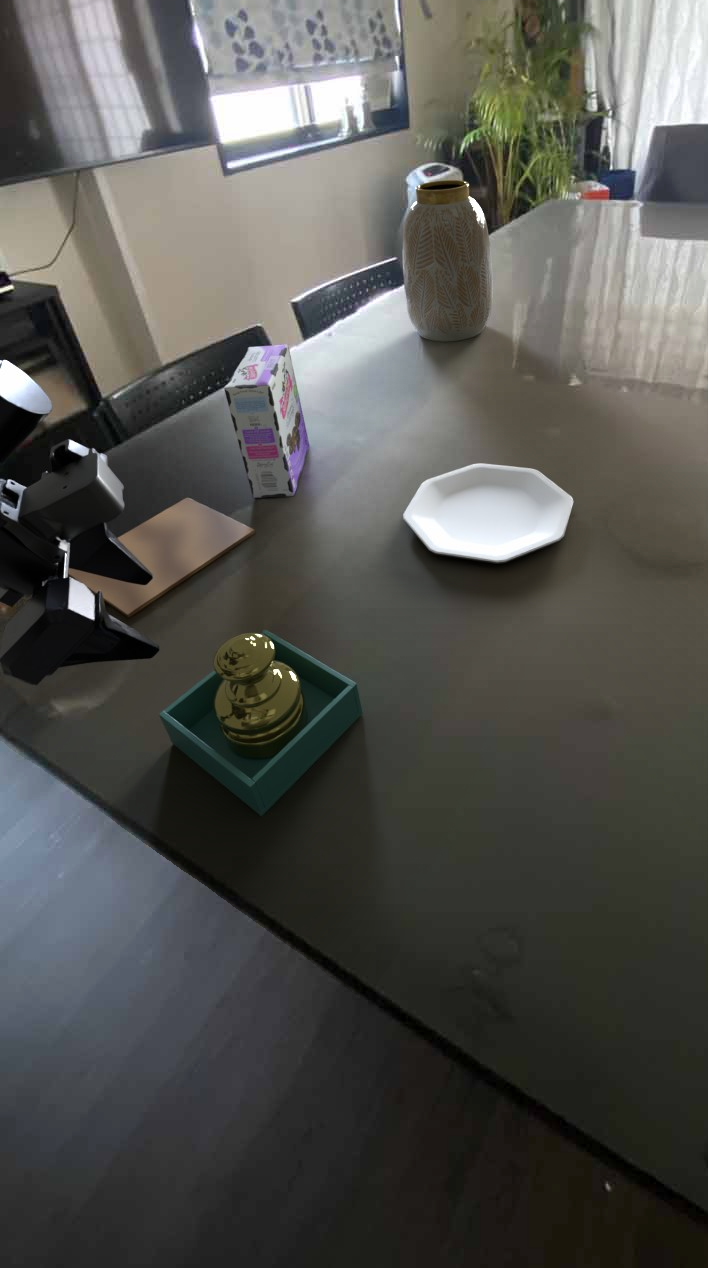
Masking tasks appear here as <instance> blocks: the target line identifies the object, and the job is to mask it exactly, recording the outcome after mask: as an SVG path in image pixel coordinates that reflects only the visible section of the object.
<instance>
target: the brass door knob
mask: <svg viewBox="0 0 708 1268" xmlns="http://www.w3.org/2000/svg"><path fill="white" fill-rule="evenodd" d="M260 633H261V632H260ZM260 633H259V632H245V633H241V634H238V635H236V636H233V637H231V638H229V639H228V640H226V641H224V643H222V644H221V645H220V647H218V649H217V651H216V652H215V654H214V657H213V663H212V664H213V670H215V671H216V673H217V674H218V676H220V677H221V678H222V679H224V680H223V681H222V682H221V683H220V685H219V686H218V688H217V690H216V693H215V696H214V700H213V709H214V713H215V716H216V718H217V720H218V721H219V724H220V729H221V731H222V733H223V734H224V736H225V739H226V741H227V743H228V745H229V747H230V748H231V749H232V750H233V751H234V752H235V753H237V754H239V755H241V756H243V757H247V758H266V757H270V756H273V755H276V754H278V753H279V752H280V751H281V750H282V749H283V748H284V747H285V746H286V745H287V744H288V743H289V742H290V741H292V740H293V739H294V738H295V737H296V736H297V735H298V734H299V733H300V732H301V731H302V730H303V729H304V728H305V726H306V722H307V709H306V705H305V700H304V695H303V692H302V690H301V685H300V680H299V678H298V675H297V674H296V672H295V671H294V670H293V669H292V668H291V667H290V666H288V665H287V664H285V663H282V662H280V661H276V660H274V657H275V647H274V644H273V642H272V641H271V639H270V638H268V637H267V636H265V635H263V634H260Z"/></svg>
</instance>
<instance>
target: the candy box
mask: <svg viewBox="0 0 708 1268" xmlns="http://www.w3.org/2000/svg"><path fill="white" fill-rule="evenodd" d="M224 394H225V398H226V402H227V403H228V404H227V405H228V409H229V412H230V417H231V420H232V424H233V428H234V432H235V436H236V439H237V443H238V447H239V450H240V454H241V457H242V461H243V465H244V469H245V474H246V477H247V481H248V484H249V488H250V492H251V495H252V498H253V499H255V498H279V497H280V498H281V497H293V496H294V495H295V493H296V490H297V488H298V484H299V482H300V478H301V474H302V471H303V468H304V464H305V462H306V459H307V455H308V452H309V449H310V442H309V437H308V432H307V428H306V422H305V418H304V417H305V416H304V413H303V408H302V404H301V398H300V395H299V394H300V393H299V389H298V384H297V379H296V375H295V371H294V366H293V360H292V355H291V351H290V346H289V344H288V343H286V344H274V345H259V346H249V347H247V351H246V353H245V354H244V356H243V358H242V360H241V361H240V362H239V364H238V365H237V367H236V368H235V370H234V372H233V374H232V376H231V377H230V378H229V381H228V382H227V384H226V385H225V386H224Z"/></svg>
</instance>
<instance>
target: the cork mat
mask: <svg viewBox="0 0 708 1268" xmlns="http://www.w3.org/2000/svg"><path fill="white" fill-rule="evenodd" d="M254 534H256V531H255V529H254V528H252V527H250V526H248V525H246V524H244V523H242V522H240V521H237V520H235V519H233V518H231V517H229V516H227V515H225V514H224V513H221V512H219V511H217V510H216V509H213V508H210V507H209V506H207V505H204V504H202V503H200V502H198V501H196V500H194V499H192V498H189V497H188V496H187V497H186V498H183V499H182V500H179V502H177V503H175V504H173V505H171V506H170V507H168V508H166V509H164V510H163V511H160V512H159V513H158V514H156V515H154V516H153V517H151V518H149V519H148V520H146V521H143V522H142V523H140V524H139V525H137V526H136V527H134V528H132V529H130V530H129V531H127V532H125V533H123V534H122V535H120V536H118V537H117V538H118V540H119V541H120V542H121V543H122V544H123V545H124V546H125V547H126V548H127V549H128V550H129V551H130V552H131V553H132V554H133V555H134V556H135V557H136V558H137V559H138V560H139V561H140V562H141V563H142V564H143V565H144V566H145V567H146V568H147V569H148V570H149V571H150V572H151V573H152V575H153V579H152V580H151V581H150V582H149V583H148V584H147V585H139V584H133V583H128V582H124V581H119V580H115V579H111V578H107V577H103V576H99V575H95V574H91V573H87V572H83V571H79V570H75V569H71V568H68V577H71V578H73V579H75V580H77V581H79V582H81V583H83V584H85V585H86V586H87V587H88V589H89V590H90V591H91V592H92V593H93V594H94V595H95V594H96V593H97V592H98V591H99V590H100V591H101V592H102V595H103V600H104V602H106V603H107V604H108V605H110V606H111V607H112V608H114V609H116V611H119V612H120V613H121V614H123V615H124V616H125V617H127V618H131V617H133V616H134V615H135V614H137V613H138V612H140V611H141V610H143V609H144V608H146V607H147V606H149V605H151V604H152V603H153V602H154V601H156V600H158V599H159V598H161V597H162V596H164V595H165V594H167V593H168V592H169V591H171V590H173V589H174V588H176V587H177V586H179V585H180V584H182V583H183V582H184V581H186V580H188V579H189V578H190V577H193V575H195V574H196V573H198V572H199V571H201V570H202V569H204V568H205V567H207V566H208V565H210V564H212V562H214V561H215V560H217V559H219V558H220V557H221V556H223V555H224V554H226V553H227V552H229V551H230V550H232V549H233V548H235V547H236V546H238V545H239V544H241V543H242V542H244V541H245V540H247V539H248V538H250V537H252V536H253V535H254Z"/></svg>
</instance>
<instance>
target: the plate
mask: <svg viewBox="0 0 708 1268" xmlns="http://www.w3.org/2000/svg"><path fill="white" fill-rule="evenodd" d="M573 506H574V499H573V497H572V496H571V494H569V493H568V492H567V491H565V490H564V489H563V488H561V487H560V486H559V485H557V484H556V482H554V481H552V480H551V479H549V478H548V476H546V475H544V474H543V473H542V472H541V471H539V470H537V469H535V468H530V467H529V468H528V467H520V466H511V465H510V466H509V465H502V464H492V463H483V462H480V463H473V464H470V465H467V466H464V467H460V468H457V469H455V470H452V471H449V472H445V473H443V474H440V475H436V476H434V477H431V478H428V479H426V480H424V481H423V482H422V483H421V484H420V486H419V488H418V489H417V490H416V492H415V494H414V496H413V497H412V499H411V500H410V502H409V503H408V506H407V507H406V509H405V510H404V512H403V514H402V519H403V521H404V522H405V524H406V525H407V526H408V527H409V529H410V530H411V531H412V532H413V533H414V535H415V536H416V537H417V538H418V539H419V541H420V542H421V543H422V544H423V546H424V547H425V548H426V549H427V550H428V552H430V553H432V554H434V555H436V556H442V557H449V558H455V559H461V560H467V561H475V562H482V563H489V564H495V565H500V564H501V565H502V564H507V563H509V562H512V561H515V560H518V559H519V558H522V557H524V556H527V555H529V554H532V553H535V552H537V551H540V550H542V549H544V548H547V547H550V546H552V545H554V544H557V543H560V542H561V541H562V540H563V539H564V538H565V534H566V530H567V527H568V524H569V519H570V517H571V513H572V509H573Z"/></svg>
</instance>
